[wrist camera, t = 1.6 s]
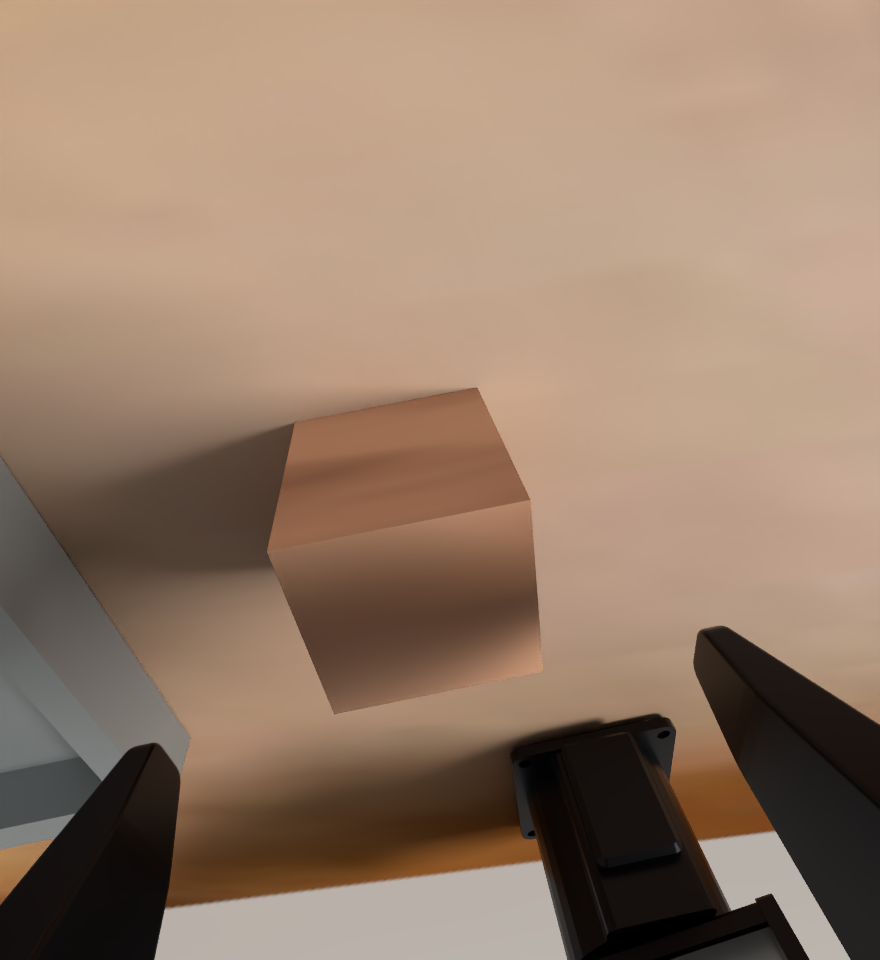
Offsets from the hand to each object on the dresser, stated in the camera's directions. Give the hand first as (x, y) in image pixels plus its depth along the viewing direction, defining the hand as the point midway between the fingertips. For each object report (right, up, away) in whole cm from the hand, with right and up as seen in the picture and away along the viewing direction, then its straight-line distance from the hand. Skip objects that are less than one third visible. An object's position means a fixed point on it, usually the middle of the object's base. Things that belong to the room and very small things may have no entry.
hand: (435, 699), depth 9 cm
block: (-1, +4, +6) cm, 7 cm away
